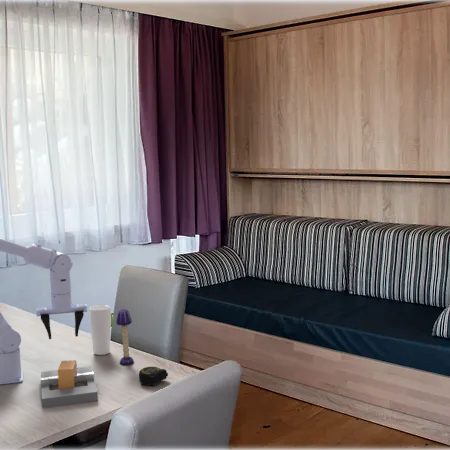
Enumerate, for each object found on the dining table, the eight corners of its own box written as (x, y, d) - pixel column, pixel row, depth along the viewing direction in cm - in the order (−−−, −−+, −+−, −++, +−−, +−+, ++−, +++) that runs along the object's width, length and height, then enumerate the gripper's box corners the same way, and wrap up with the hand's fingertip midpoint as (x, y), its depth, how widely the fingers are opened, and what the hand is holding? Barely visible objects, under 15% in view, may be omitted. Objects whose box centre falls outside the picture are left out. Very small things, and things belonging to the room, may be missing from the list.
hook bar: (41, 385, 172) (40, 380, 172) (41, 383, 174) (40, 377, 174) (94, 379, 176) (93, 373, 176) (93, 377, 178) (93, 371, 178)
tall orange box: (58, 391, 172) (57, 369, 171) (62, 381, 179) (61, 360, 178) (74, 390, 172) (72, 369, 171) (77, 380, 179) (76, 360, 178)
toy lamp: (130, 366, 193) (128, 312, 191) (115, 365, 194) (113, 311, 192) (135, 360, 198) (133, 308, 195) (121, 360, 198) (119, 307, 196)
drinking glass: (102, 357, 201) (100, 311, 199) (86, 354, 204) (84, 308, 202) (116, 351, 206) (115, 306, 204) (101, 348, 210) (99, 303, 208)
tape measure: (153, 389, 175) (152, 376, 175) (134, 384, 179) (133, 371, 179) (168, 381, 181) (168, 368, 181) (149, 376, 185) (149, 364, 184)
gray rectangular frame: (42, 408, 164) (41, 398, 164) (41, 380, 183) (40, 371, 183) (97, 400, 168) (97, 391, 168) (91, 374, 187) (90, 366, 187)
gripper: (85, 287, 196) (87, 330, 198) (35, 291, 192) (38, 335, 194) (86, 292, 189) (88, 337, 191) (35, 297, 185) (38, 342, 187)
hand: (63, 336), depth 192 cm, fingers open, 7 cm apart
